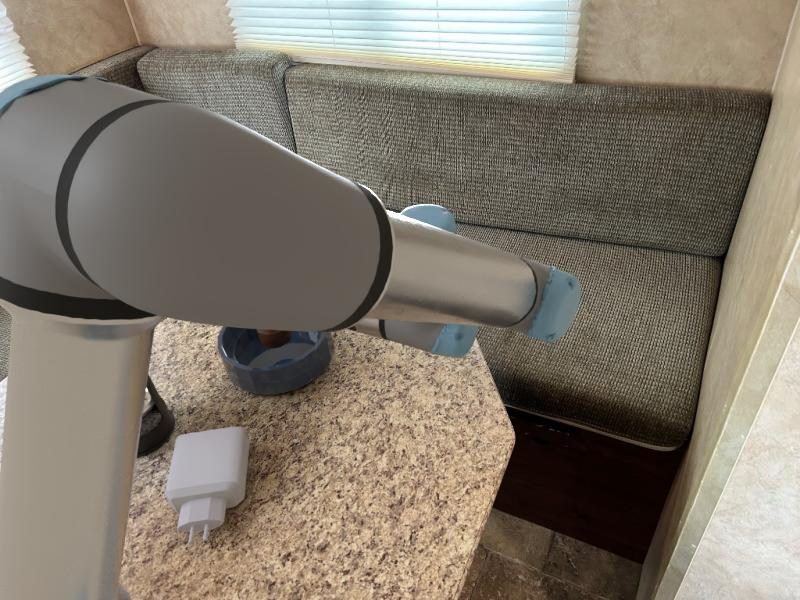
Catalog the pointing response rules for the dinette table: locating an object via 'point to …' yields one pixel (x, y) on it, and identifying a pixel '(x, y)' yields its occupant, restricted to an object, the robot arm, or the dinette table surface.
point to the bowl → (273, 359)
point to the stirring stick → (274, 337)
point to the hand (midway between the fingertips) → (228, 269)
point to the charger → (207, 477)
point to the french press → (164, 427)
